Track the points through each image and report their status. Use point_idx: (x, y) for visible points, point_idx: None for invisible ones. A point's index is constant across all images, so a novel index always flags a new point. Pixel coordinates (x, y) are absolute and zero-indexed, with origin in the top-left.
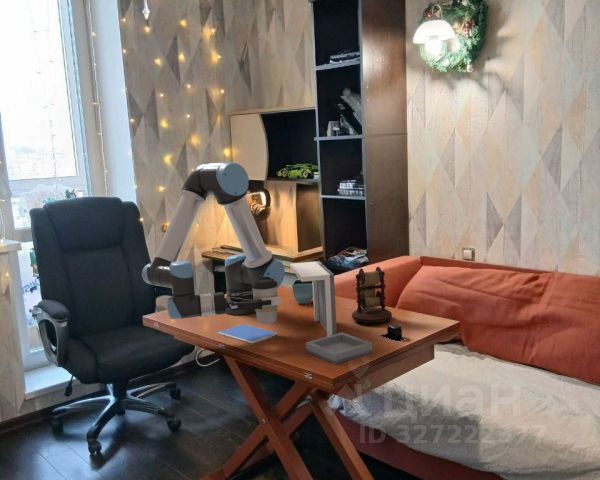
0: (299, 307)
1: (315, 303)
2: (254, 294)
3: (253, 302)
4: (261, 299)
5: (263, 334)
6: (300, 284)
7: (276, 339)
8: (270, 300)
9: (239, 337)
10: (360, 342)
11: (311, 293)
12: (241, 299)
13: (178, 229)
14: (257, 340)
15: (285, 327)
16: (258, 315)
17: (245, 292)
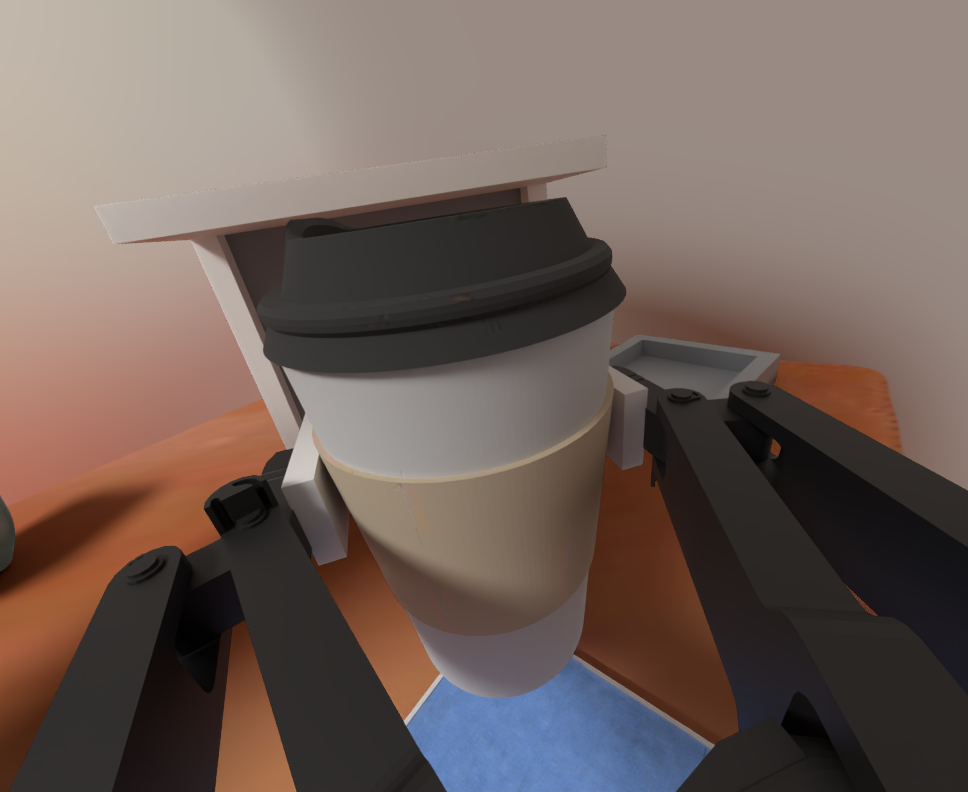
0: (19, 602)
1: (299, 424)
2: (564, 428)
3: (830, 419)
4: (629, 403)
5: (538, 702)
6: None
7: (591, 596)
8: (616, 367)
9: None
10: (632, 348)
11: (4, 508)
12: (889, 622)
13: None
14: (684, 727)
15: (367, 597)
16: (574, 611)
17: (76, 757)
